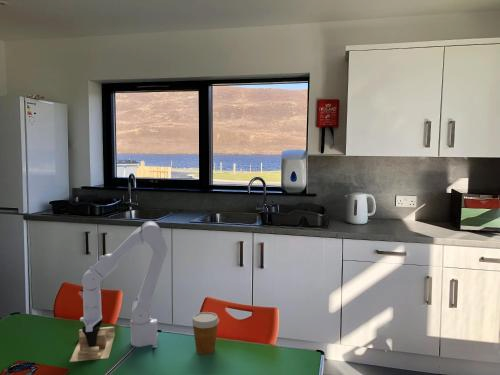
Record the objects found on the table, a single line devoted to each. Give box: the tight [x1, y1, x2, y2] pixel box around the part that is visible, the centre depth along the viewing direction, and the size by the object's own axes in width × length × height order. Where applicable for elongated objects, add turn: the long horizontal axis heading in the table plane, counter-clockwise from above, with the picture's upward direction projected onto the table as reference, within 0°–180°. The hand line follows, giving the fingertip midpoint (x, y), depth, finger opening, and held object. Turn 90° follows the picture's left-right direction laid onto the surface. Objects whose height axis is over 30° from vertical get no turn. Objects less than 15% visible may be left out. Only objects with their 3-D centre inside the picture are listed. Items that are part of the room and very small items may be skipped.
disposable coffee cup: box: [191, 311, 220, 355], centre depth 138 cm, size 10×10×12 cm
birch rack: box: [69, 326, 115, 363], centre depth 138 cm, size 12×16×4 cm
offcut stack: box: [78, 346, 101, 361], centre depth 131 cm, size 7×2×3 cm, turn 102°
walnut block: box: [80, 330, 107, 351], centre depth 138 cm, size 8×4×5 cm, turn 102°
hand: (93, 343), depth 138 cm, fingers closed on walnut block, 4 cm apart
